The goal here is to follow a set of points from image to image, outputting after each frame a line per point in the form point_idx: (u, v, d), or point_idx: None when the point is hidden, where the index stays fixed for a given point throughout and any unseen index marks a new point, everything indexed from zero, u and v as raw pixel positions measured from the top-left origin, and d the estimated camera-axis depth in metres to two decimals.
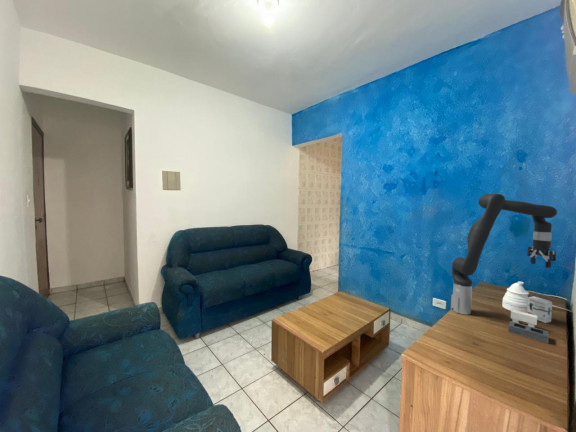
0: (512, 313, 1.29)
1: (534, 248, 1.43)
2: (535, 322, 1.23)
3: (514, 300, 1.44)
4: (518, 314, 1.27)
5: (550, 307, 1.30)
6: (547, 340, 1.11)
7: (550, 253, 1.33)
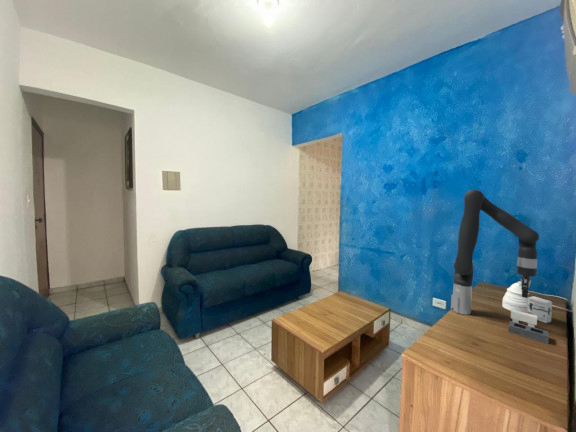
0: (512, 313, 1.29)
1: (528, 278, 1.23)
2: (535, 322, 1.23)
3: (514, 300, 1.44)
4: (518, 314, 1.27)
5: (550, 307, 1.30)
6: (547, 340, 1.11)
7: (529, 276, 1.29)
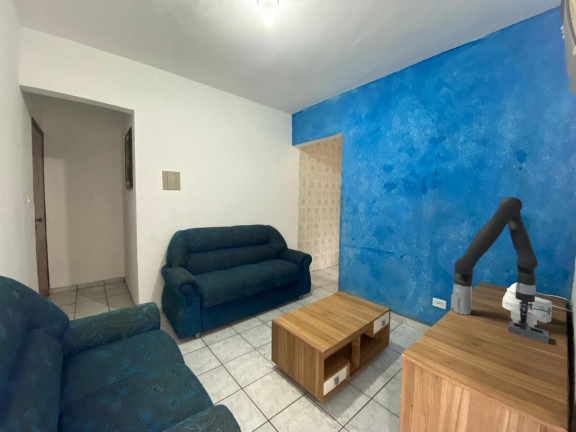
0: (512, 313, 1.29)
1: (527, 304, 1.24)
2: (535, 322, 1.23)
3: (514, 300, 1.44)
4: (518, 314, 1.27)
5: (550, 307, 1.30)
6: (547, 340, 1.11)
7: None
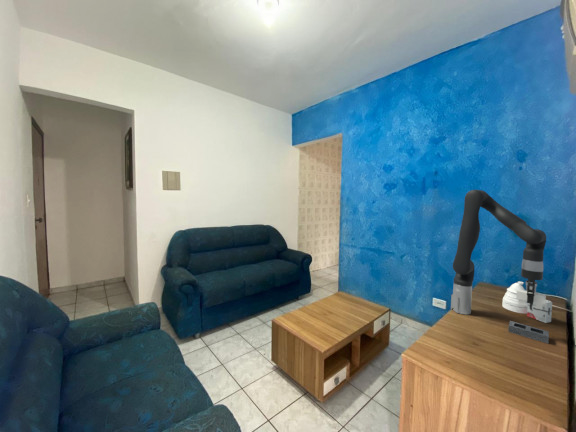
0: (518, 293, 1.20)
1: (534, 282, 1.14)
2: (543, 301, 1.13)
3: (514, 300, 1.44)
4: (525, 294, 1.18)
5: (550, 307, 1.30)
6: (547, 340, 1.11)
7: None
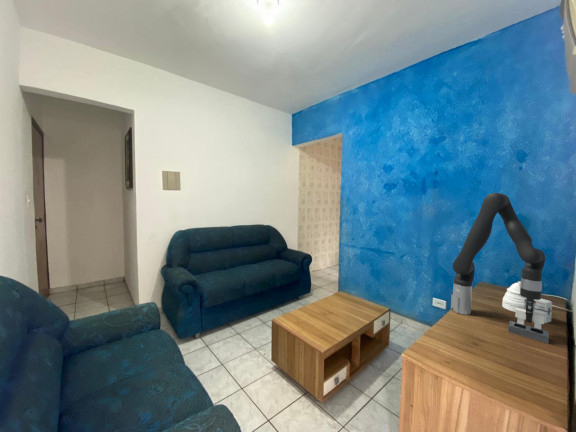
0: (517, 312, 1.20)
1: (533, 302, 1.15)
2: (542, 321, 1.14)
3: (514, 300, 1.44)
4: (523, 313, 1.18)
5: (550, 307, 1.30)
6: (547, 340, 1.11)
7: None
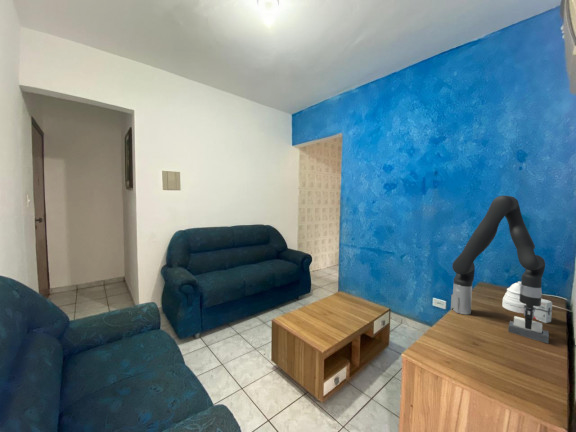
0: (516, 320, 1.21)
1: (532, 308, 1.15)
2: (540, 330, 1.14)
3: (514, 300, 1.44)
4: (522, 321, 1.19)
5: (550, 307, 1.30)
6: (547, 340, 1.11)
7: None
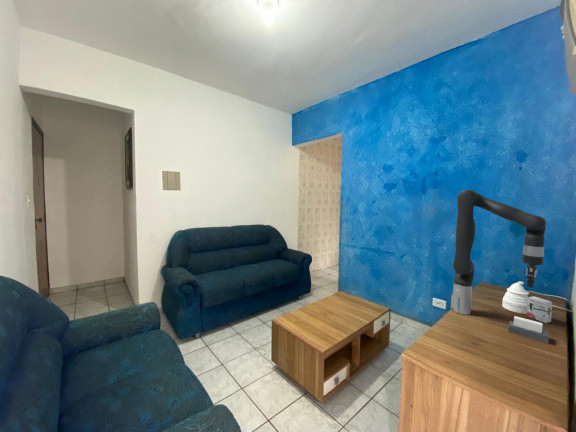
0: (516, 320, 1.21)
1: (534, 267, 1.18)
2: (540, 330, 1.14)
3: (514, 300, 1.44)
4: (522, 321, 1.19)
5: (550, 307, 1.30)
6: (547, 340, 1.11)
7: None
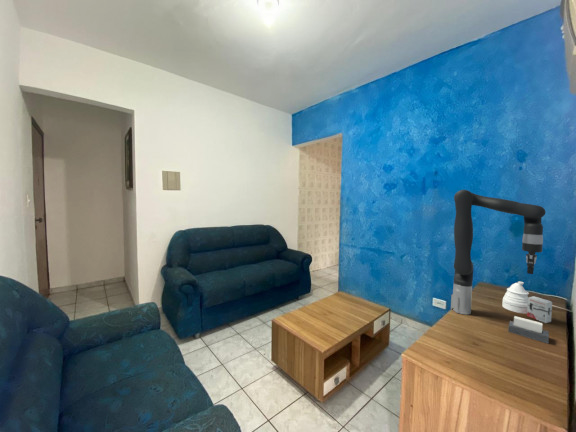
0: (516, 320, 1.21)
1: (534, 255, 1.22)
2: (540, 330, 1.14)
3: (514, 300, 1.44)
4: (522, 321, 1.19)
5: (550, 307, 1.30)
6: (547, 340, 1.11)
7: None
